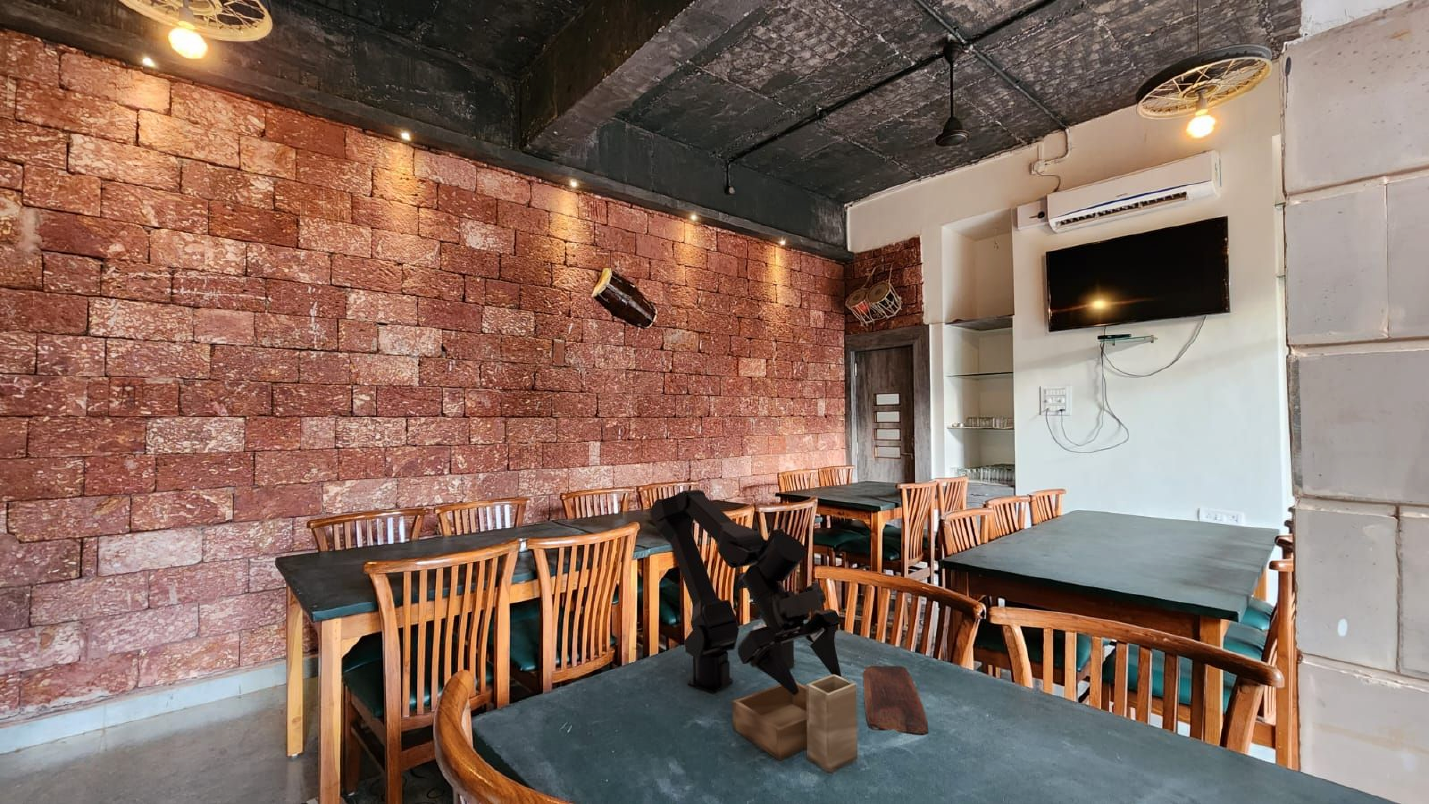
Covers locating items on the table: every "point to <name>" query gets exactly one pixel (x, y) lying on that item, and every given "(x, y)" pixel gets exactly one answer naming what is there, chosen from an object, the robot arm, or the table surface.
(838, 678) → the birch crate
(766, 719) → the oak crate
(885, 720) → the wooden tablet
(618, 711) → the table surface
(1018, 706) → the table surface
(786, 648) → the sushi
